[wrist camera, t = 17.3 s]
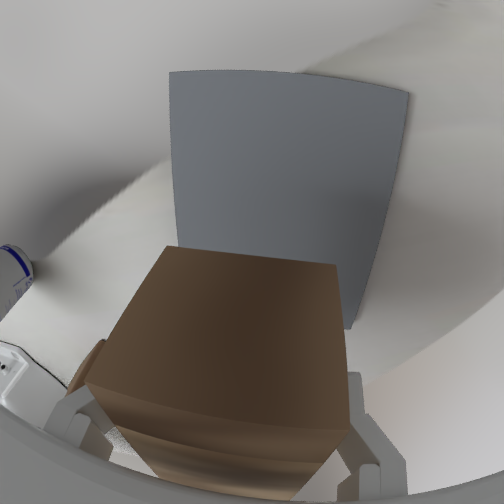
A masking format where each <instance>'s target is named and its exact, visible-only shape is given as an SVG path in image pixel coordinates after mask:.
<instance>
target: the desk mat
mask: <svg viewBox="0 0 504 504" xmlns="http://www.w3.org/2000/svg"><path fill="white" fill-rule="evenodd" d="M408 95H409V92H405V91H401V90H396V89H392V88H388V87H383V86H379V85H374V84H369V83H363V82H358V81H352V80H346V79H340V78H333V77H326V76H318V75H309V74H300V73H289V72H275V71H254V70H200V71H180V72H170V73H169V96H170V97H169V98H170V133H171V157H172V174H173V189H174V202H175V215H176V226H177V236H178V246H179V247H184V248H192V249H201V250H210V251H219V252H227V253H236V254H245V255H254V256H263V257H272V258H281V259H290V260H299V261H308V262H317V263H326V264H335V265H336V267H337V274H338V282H339V290H340V298H341V307H342V316H343V325H344V329H351V327H352V325H353V322H354V319H355V316H356V314H357V311H358V308H359V305H360V302H361V299H362V296H363V293H364V290H365V287H366V284H367V281H368V277H369V274H370V271H371V268H372V264H373V261H374V258H375V254H376V251H377V247H378V244H379V240H380V236H381V233H382V229H383V225H384V221H385V217H386V213H387V209H388V205H389V201H390V197H391V192H392V188H393V183H394V178H395V174H396V169H397V164H398V159H399V153H400V148H401V142H402V136H403V130H404V124H405V117H406V110H407V103H408Z"/></svg>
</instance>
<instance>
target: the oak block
mask: <svg viewBox="0 0 504 504" xmlns="http://www.w3.org/2000/svg"><path fill="white" fill-rule="evenodd" d="M84 382H85V384H86V385H87V387H88V389H89V390H90V392H91V393H92V395H93V396H94V397H95V399H96V400H97V402H98V403H99V405H100V406H101V408H102V409H103V410H104V412H105V413H106V414H107V416H108V417H109V419H110V420H111V421H112V423H113V424H114V425H115V426H116V428H117V429H118V430H119V432H120V433H121V434H122V435H123V437H124V438H125V439H126V440H127V442H128V443H129V444H130V445H131V447H132V448H133V449H134V450H135V451H136V452H137V454H138V455H139V456H140V457H141V458H142V459H143V461H144V462H145V463H146V464H147V465H148V466H149V467H150V468H151V469H152V470H153V472H154V473H155V474H156V475H158V477H159V478H160V479H164V480H167V481H171V482H175V483H178V484H182V485H186V486H191V487H195V488H200V489H204V490H209V491H214V492H220V493H226V494H232V495H238V496H245V497H253V498H262V499H272V500H285V501H290V500H291V499H292V498H293V497H294V496H295V495H296V493H297V492H298V491H299V490H300V489H301V488H302V487H303V486H304V485H305V484H306V483H307V482H308V481H309V479H310V478H311V477H312V476H313V475H314V474H315V473H316V472H317V470H318V469H319V468H320V467H321V466H322V465H323V464H324V462H325V461H326V460H327V459H328V458H329V456H330V455H331V454H332V452H334V450H335V449H336V448H337V447H338V445H339V444H340V443H341V441H342V440H343V439H344V438H345V436H346V435H347V434H348V432H349V431H350V409H349V388H348V373H347V359H346V347H345V336H344V325H343V316H342V307H341V298H340V290H339V282H338V274H337V267H336V265H335V264H326V263H317V262H308V261H299V260H290V259H281V258H272V257H263V256H254V255H245V254H236V253H227V252H219V251H210V250H201V249H192V248H184V247H175V246H166V248H165V249H164V251H163V252H162V254H161V255H160V257H159V258H158V260H157V261H156V263H155V264H154V266H153V267H152V269H151V270H150V272H149V273H148V275H147V276H146V278H145V279H144V281H143V282H142V284H141V285H140V287H139V289H138V290H137V292H136V293H135V295H134V296H133V298H132V300H131V301H130V303H129V304H128V306H127V308H126V309H125V311H124V312H123V314H122V316H121V317H120V319H119V321H118V322H117V324H116V325H115V327H114V329H113V330H112V332H111V334H110V335H109V337H108V339H107V341H106V342H105V344H104V346H103V347H102V349H101V351H100V353H99V354H98V356H97V358H96V359H95V361H94V363H93V365H92V367H91V368H90V370H89V372H88V374H87V376H86V377H85V379H84Z"/></svg>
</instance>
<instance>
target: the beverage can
mask: <svg viewBox="0 0 504 504" xmlns="http://www.w3.org/2000/svg"><path fill="white" fill-rule="evenodd" d="M32 283H33V268H32V264H31V262H30V260H29V258H28V257H27V255H26V254H25V253H24V252H23V251H22V250H21V249H20V248H18V247H16V246H11V245H9V244H6V245H3V246H2V247H0V322H1V321H2V319H3V318H4V317H5V316H6V314H7V313H8V312H9V311H10V310H11V308H12V307H13V306H14V305H15V304H16V302H17V301H18V300H19V299H20V298H21V297H22V296H23V294H24V293H25V292H26V291H27V290H28V289H29V288H30V286H31V285H32Z"/></svg>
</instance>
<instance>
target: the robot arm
mask: <svg viewBox="0 0 504 504" xmlns="http://www.w3.org/2000/svg"><path fill="white" fill-rule="evenodd" d="M347 373H348V388H349V409H350V431H349V432H348V434H347V435H346V436H345V438H344V439H343V440H342V441H341V443H340V444H339V445H338V447H337V448H336V449H337V451H338V452H339V454H340V455H341V457H342V459H343V461H344V462H345V464H346V466H347V467H348V469H349V471H350V473H351V475H350V476H349V477H348V478H347V479H345V480H344V481H343V482H341V483H340V484H339V485H338V490H337V502H306V501H305V502H304V501H285V500H272V499H262V498H253V497H245V496H238V495H232V494H226V493H220V492H214V491H209V490H204V489H200V488H195V487H191V486H186V485H182V484H178V483H175V482H171V481H167V480H164V479H160V478H156V477H153V476H150V475H147V474H144V473H140V472H138V471H134V470H131V469H129V468H126V467H123V466H121V465H118V464H115V463H113V462H110V461H108V460H109V458H110V455H111V452H112V450H113V447H114V446H113V444H112V443H111V442H110V440H109V439H108V438H107V437H106V436H105V435H104V434H106V433H107V432H108V431H109V430H111V429H112V428H113V427H114V426H115V425H114V424H113V423H112V421H111V420H110V419H109V417H108V416H107V414H106V413H105V412H104V410H103V409H102V408H101V406H100V405H99V403H98V402H97V400H96V399H95V397H94V396H93V395H92V393H91V392H90V390H89V389H88V387H87V385H84V386H83V387H81V388H79V389H78V390H76V391H74V392H73V393H71V394H69V395H68V396H66V397H65V395H66V393H67V391H68V390H67V389H66V388H65V387H64V386H63V385H62V384H60V383H59V382H58V381H57V380H56V379H55V378H54V377H53V376H51V375H50V374H49V373H48V372H46V371H45V370H44V369H43V368H41V367H40V366H39V365H37V364H36V363H35V362H34V361H33V360H32V359H31V358H30V357H29V356H28V355H27V354H26V353H25V352H24V351H23V350H21V349H20V348H19V347H16V346H13V345H10V344H7V343H4V342H0V504H504V470H503V471H501V472H498V473H495V474H492V475H489V476H486V477H483V478H480V479H476V480H473V481H470V482H466V483H463V484H459V485H455V486H451V487H447V488H442V489H438V490H434V491H428V492H424V493H418V494H412V495H408V491H407V475H406V462H405V459H404V458H403V457H402V455H401V454H400V453H399V452H398V450H397V449H396V448H395V447H394V446H393V444H392V443H391V442H390V440H389V439H388V438H387V436H386V435H385V434H384V433H383V431H382V430H381V429H380V428H379V426H378V425H377V424H376V423H375V421H374V420H373V419H372V417H371V416H370V415H369V414H365V411H364V399H363V388H362V378H361V374H360V373H359V372H347Z"/></svg>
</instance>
